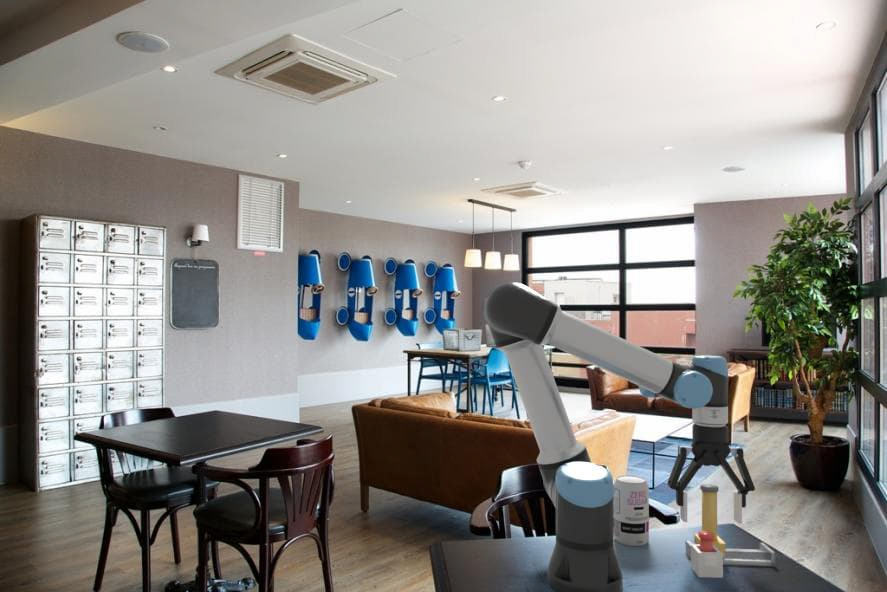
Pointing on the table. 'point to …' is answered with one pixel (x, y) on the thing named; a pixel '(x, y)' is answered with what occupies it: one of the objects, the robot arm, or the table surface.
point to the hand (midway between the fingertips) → (710, 520)
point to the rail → (745, 556)
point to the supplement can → (631, 510)
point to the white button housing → (707, 562)
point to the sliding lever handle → (710, 515)
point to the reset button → (706, 541)
